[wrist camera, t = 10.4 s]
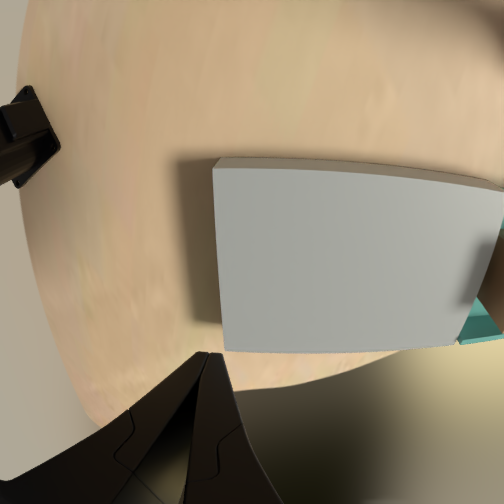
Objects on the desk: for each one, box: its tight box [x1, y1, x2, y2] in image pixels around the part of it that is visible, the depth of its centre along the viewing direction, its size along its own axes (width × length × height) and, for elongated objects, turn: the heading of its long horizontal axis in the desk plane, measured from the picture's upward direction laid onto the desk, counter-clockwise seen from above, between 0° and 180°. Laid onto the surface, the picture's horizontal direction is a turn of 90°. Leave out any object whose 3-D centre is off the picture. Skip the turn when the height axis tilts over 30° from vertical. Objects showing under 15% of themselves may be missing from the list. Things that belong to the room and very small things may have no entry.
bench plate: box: [212, 157, 504, 353], centre depth 21 cm, size 20×14×3 cm
